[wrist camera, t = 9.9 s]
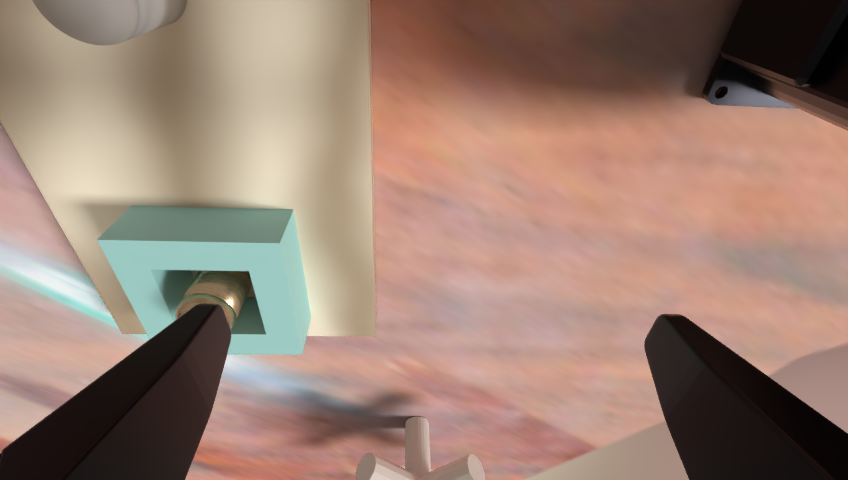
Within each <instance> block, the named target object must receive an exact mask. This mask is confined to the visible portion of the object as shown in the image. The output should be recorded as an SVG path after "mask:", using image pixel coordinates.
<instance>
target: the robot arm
mask: <svg viewBox="0 0 848 480" xmlns="http://www.w3.org/2000/svg"><path fill="white" fill-rule="evenodd" d="M720 87H722V89H721V91H720V92H719V93H718V94H717V95H715V92H716V90H717V89H718V88H720ZM703 98H704V99H705V100H706V101H708V102H710V103H711V104H715V105H732V106H754V107H776V108H797V109H801V110H803V111H805V112H808V113H810V114H812V115H814V116H817V117H819V118H821V119H823V120H825V121H828V122H830V123H832V124H834V125H837V126H839V127H841V128H843V129H845V130H848V0H743V2H742V4H741V6H740V8H739V10H738V13H737V15H736V17H735V19H734V22H733V24H732V26H731V28H730V30H729V33H728V35H727V37H726V39H725V41H724V44H723V46H722V48H721V52H720V54H719V57H718V59H717V61H716V63H715V66H714V68H713V70H712V72H711V74H710V77H709V79H708V81H707V83H706V85H705V88H704V90H703ZM230 342H231V329H230V326H229V324H228V321H227V318H226V316H225V313H224V310H223V308H222V306H221V305H219V304H214V303H200V304H197V305H195V306H194V307H192V308H191V309H190V310H188V311H187V312H186V313H184V314H183V315H182V316H180V317H179V318H178V319H176V320H175V321H174V322H172V323H171V324H170V325H168V326H167V327H166V328H164V329H163V330H162V331H160V332H159V333H158V334H156V335H155V336H154V337H152V338H151V339H150V340H148V341H147V342H146V343H144V344H143V345H142V346H140V347H139V348H138V349H136V350H135V351H134V352H132V353H131V354H130V355H128V356H127V357H126V358H124V359H123V360H122V361H120V362H119V363H118V364H116V365H115V366H114V367H112V368H111V369H110V370H108V371H107V372H106V373H104V374H103V375H102V376H100V377H99V378H98V379H96V380H95V381H94V382H92V383H91V384H90V385H88V386H87V387H86V388H84V389H83V390H82V391H80V392H79V393H77V394H76V395H75V396H73V397H72V398H71V399H69V400H68V401H67V402H65V403H64V404H63V405H61V406H60V407H59V408H57V409H56V410H55V411H53V412H52V413H51V414H49V415H48V416H47V417H45V418H44V419H43V420H41V421H40V422H39V423H37V424H36V425H35V426H33V427H32V428H31V429H29V430H28V431H27V432H25V433H24V434H23V435H21V436H20V437H19V438H17V439H16V440H15V441H13V442H12V443H11V444H9V445H8V446H7V447H5V448H4V449H3V450H2V453H0V480H185V478H186V476H187V473H188V470H189V468H190V465H191V463H192V460H193V458H194V455H195V453H196V450H197V448H198V445H199V443H200V440H201V438H202V435H203V432H204V430H205V427H206V425H207V422H208V419H209V417H210V414H211V411H212V408H213V404H214V401H215V397H216V394H217V390H218V386H219V383H220V379H221V375H222V372H223V368H224V364H225V361H226V357H227V353H228V349H229V346H230ZM644 346H645V352H646V356H647V359H648V363H649V366H650V370H651V373H652V377H653V380H654V384H655V387H656V391H657V394H658V398H659V401H660V404H661V408H662V411H663V414H664V417H665V420H666V422H667V425H668V428H669V431H670V433H671V436H672V438H673V441H674V443H675V446H676V448H677V450H678V453H679V455H680V458H681V460H682V463H683V465H684V468H685V470H686V473H687V475H688V478H689V480H848V433H846V432H845V431H843V430H842V429H841V428H839V427H838V426H836V425H835V424H834V423H832V422H831V421H829V420H828V419H827V418H825V417H824V416H822V415H821V414H820V413H818V412H817V411H816V410H814V409H813V408H811V407H810V406H809V405H807V404H806V403H804V402H803V401H801V400H800V399H799V398H797V397H796V396H795V395H793V394H792V393H791V392H789V391H788V390H786V389H785V388H783V387H782V386H781V385H779V384H778V383H777V382H775V381H774V380H772V379H771V378H770V377H768V376H767V375H765V374H764V373H763V372H761V371H760V370H758V369H757V368H756V367H754V366H753V365H752V364H750V363H749V362H747V361H746V360H745V359H743V358H742V357H740V356H739V355H738V354H736V353H735V352H733V351H732V350H731V349H729V348H728V347H726V346H725V345H724V344H722V343H721V342H720V341H718V340H717V339H715V338H714V337H713V336H711V335H710V334H708V333H707V332H706V331H704V330H703V329H701V328H700V327H699V326H697V325H696V324H694V323H693V322H692V321H690V320H689V319H687V318H686V317H684V316H682V315H679V314H661V315H660V316H658V317H657V319H656V321H655V322H654V324H653V326H652V328H651V330H650V331H649V333H648V335H647V337H646V339H645V345H644Z"/></svg>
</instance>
